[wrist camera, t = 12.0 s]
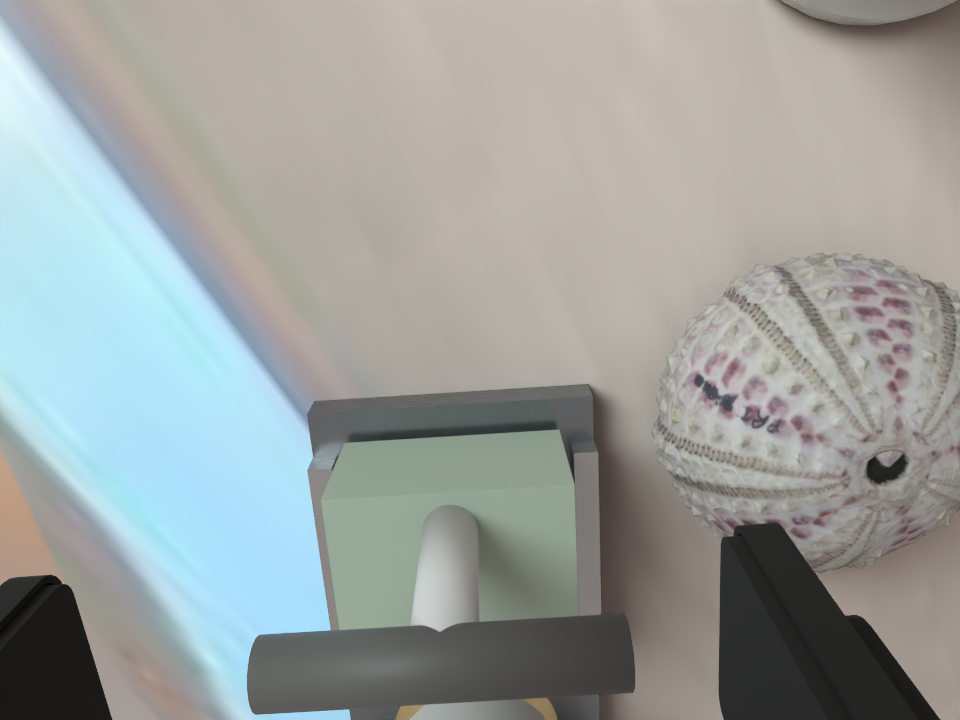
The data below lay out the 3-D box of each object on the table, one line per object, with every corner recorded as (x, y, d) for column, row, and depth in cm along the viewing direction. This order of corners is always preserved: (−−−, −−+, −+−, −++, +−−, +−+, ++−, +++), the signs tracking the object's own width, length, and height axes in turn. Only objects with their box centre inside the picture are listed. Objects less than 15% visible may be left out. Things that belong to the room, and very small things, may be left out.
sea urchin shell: (716, 572, 36) (781, 693, 28) (587, 334, 32) (623, 399, 25) (984, 445, 34) (1132, 539, 26) (880, 178, 30) (1016, 196, 23)
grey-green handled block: (571, 428, 31) (634, 629, 19) (575, 554, 33) (635, 813, 21) (332, 443, 31) (239, 652, 19) (349, 568, 33) (274, 833, 21)
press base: (587, 384, 33) (630, 483, 24) (597, 837, 41) (633, 1042, 32) (314, 401, 33) (253, 506, 24) (376, 849, 41) (349, 1057, 32)
